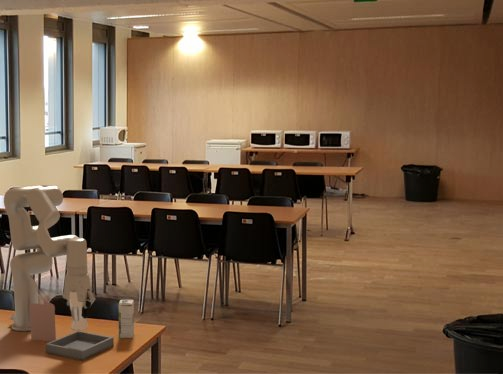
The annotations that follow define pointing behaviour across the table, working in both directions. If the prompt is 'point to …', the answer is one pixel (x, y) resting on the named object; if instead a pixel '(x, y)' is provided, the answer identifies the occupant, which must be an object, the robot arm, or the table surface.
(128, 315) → the syrup box
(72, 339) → the tray
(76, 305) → the beer glass
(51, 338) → the greeting card
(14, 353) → the table surface
